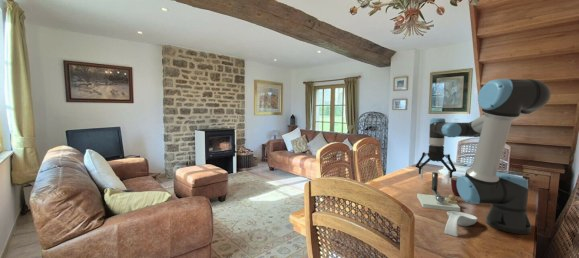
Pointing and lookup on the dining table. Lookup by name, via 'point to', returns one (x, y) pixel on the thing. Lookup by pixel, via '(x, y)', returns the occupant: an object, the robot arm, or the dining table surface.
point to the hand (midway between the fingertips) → (434, 181)
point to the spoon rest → (458, 222)
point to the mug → (454, 186)
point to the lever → (434, 187)
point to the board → (433, 201)
